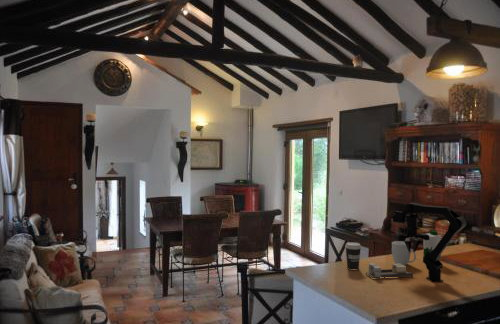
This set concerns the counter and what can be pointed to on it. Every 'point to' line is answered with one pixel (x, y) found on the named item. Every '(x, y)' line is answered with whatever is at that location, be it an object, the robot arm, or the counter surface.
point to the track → (384, 272)
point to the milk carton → (431, 242)
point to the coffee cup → (353, 255)
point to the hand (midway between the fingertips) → (411, 252)
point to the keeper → (398, 268)
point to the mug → (401, 253)
